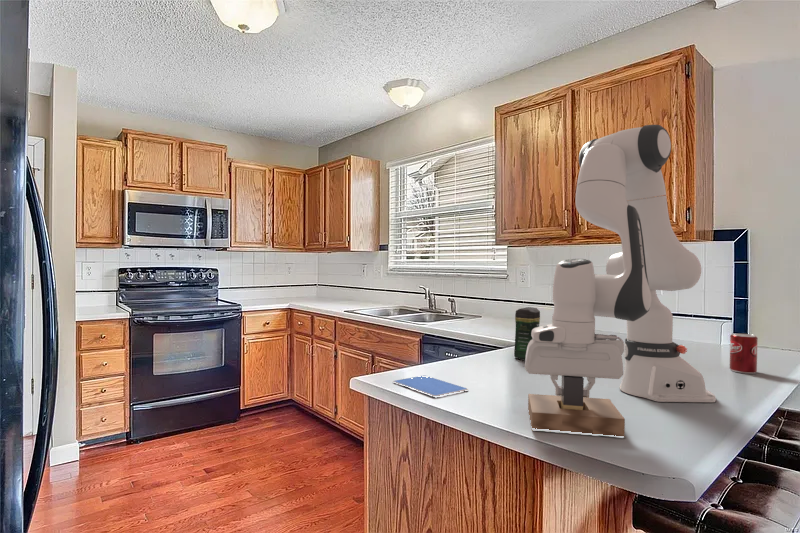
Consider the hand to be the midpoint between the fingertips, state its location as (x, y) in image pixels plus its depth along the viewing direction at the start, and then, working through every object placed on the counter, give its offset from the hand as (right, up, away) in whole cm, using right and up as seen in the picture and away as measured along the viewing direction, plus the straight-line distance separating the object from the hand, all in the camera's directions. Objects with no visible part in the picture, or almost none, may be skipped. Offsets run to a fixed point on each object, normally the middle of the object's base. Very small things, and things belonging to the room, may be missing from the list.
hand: (571, 395), depth 104 cm
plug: (0, -5, 0) cm, 5 cm away
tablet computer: (-29, -6, +29) cm, 42 cm away
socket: (0, -6, 0) cm, 6 cm away
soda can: (+74, -6, +51) cm, 90 cm away
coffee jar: (+9, -5, +69) cm, 70 cm away
